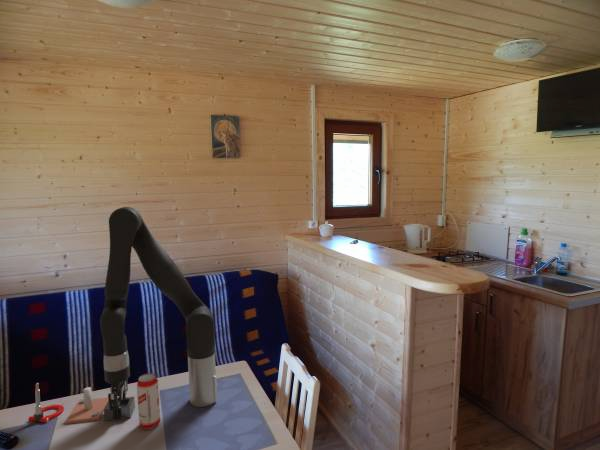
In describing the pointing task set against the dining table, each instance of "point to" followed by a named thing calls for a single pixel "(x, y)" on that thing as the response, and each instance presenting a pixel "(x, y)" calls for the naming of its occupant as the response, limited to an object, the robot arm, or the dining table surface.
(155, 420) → the beer can
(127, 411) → the grey hollow block
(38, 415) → the tow hook
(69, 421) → the keeper plate
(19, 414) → the dining table surface
